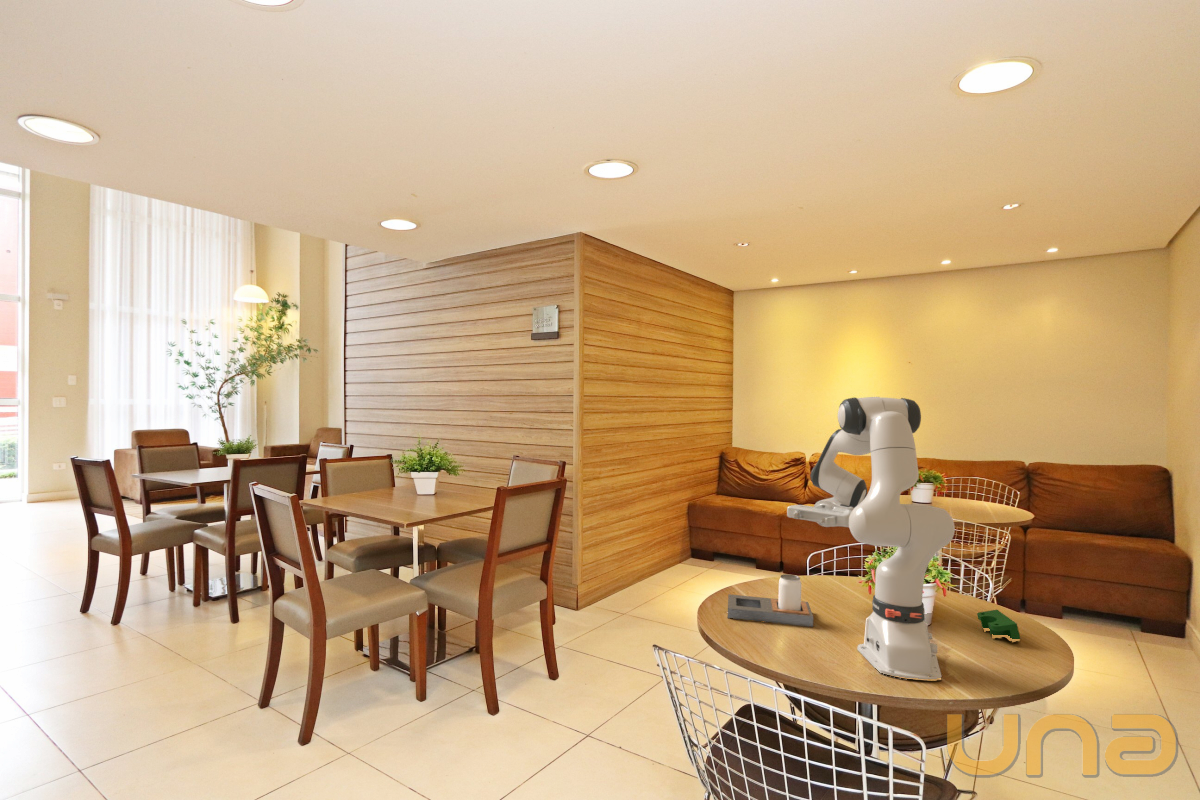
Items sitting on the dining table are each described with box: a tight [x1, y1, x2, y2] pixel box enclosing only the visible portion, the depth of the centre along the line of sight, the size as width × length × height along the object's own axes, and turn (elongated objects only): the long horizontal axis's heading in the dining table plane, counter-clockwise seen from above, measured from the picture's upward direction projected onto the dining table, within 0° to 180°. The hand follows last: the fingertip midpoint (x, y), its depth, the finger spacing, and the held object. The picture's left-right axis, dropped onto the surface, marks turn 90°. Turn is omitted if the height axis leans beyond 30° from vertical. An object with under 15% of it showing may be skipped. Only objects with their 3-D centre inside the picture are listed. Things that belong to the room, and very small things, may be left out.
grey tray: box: [727, 594, 814, 628], centre depth 186 cm, size 13×24×3 cm, turn 78°
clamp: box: [976, 609, 1021, 639], centre depth 175 cm, size 12×6×9 cm, turn 166°
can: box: [777, 573, 802, 611], centre depth 185 cm, size 6×6×12 cm
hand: (809, 518), depth 194 cm, fingers open, 8 cm apart
